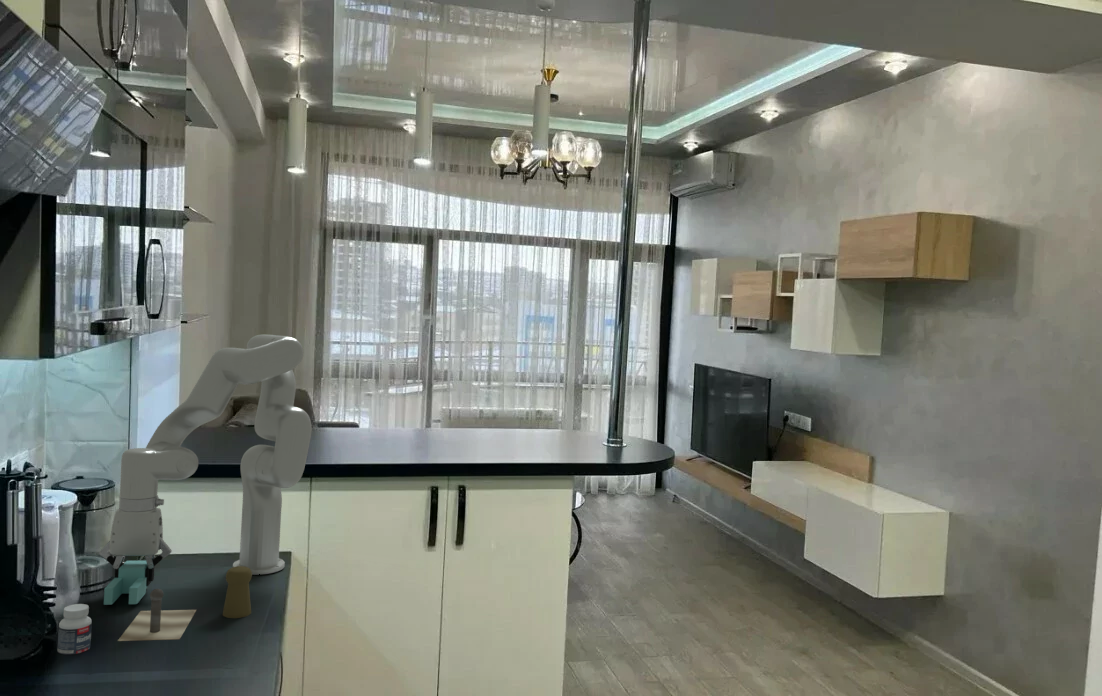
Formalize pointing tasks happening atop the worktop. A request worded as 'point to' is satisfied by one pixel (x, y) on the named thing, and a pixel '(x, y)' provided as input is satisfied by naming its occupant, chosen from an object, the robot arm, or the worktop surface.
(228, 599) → the cork
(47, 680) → the worktop surface
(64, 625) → the pill bottle
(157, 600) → the stand
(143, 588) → the link
